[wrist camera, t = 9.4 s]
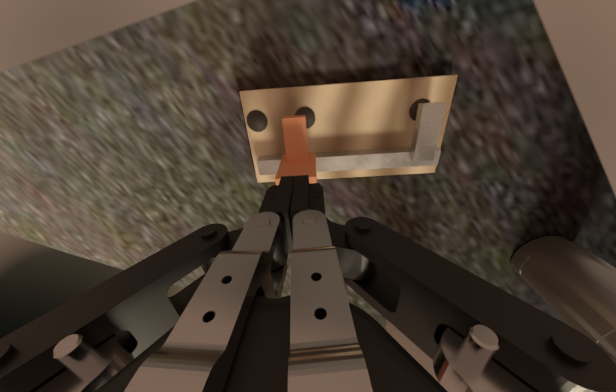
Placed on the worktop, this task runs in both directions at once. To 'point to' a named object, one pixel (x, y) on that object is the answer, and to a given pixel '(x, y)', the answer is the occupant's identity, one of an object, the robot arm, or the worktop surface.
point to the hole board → (345, 118)
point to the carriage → (296, 150)
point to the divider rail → (380, 149)
